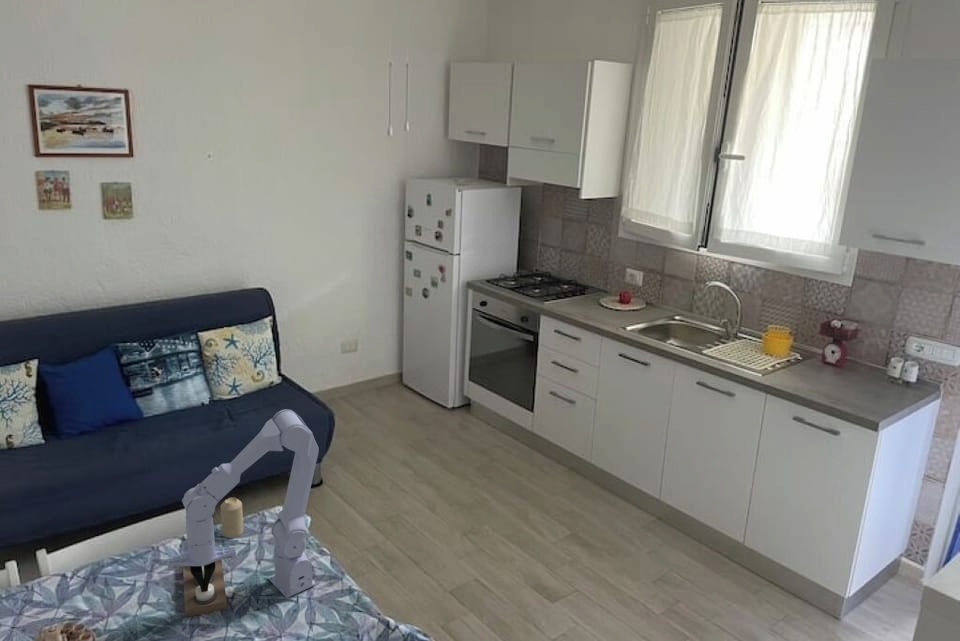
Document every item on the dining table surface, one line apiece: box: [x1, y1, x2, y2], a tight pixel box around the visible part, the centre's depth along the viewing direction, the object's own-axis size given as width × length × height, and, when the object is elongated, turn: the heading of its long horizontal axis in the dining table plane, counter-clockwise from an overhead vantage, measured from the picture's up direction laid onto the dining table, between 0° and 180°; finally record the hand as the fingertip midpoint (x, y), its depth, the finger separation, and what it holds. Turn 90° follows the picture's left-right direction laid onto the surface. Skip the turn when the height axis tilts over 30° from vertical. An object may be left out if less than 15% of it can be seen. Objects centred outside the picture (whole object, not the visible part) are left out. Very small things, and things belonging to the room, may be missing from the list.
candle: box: [220, 496, 244, 539], centre depth 194 cm, size 6×6×10 cm
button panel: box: [182, 559, 228, 618], centre depth 173 cm, size 20×9×2 cm, turn 23°
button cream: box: [195, 584, 214, 601], centre depth 166 cm, size 4×4×2 cm
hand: (204, 589), depth 166 cm, fingers closed, pressing on button cream
